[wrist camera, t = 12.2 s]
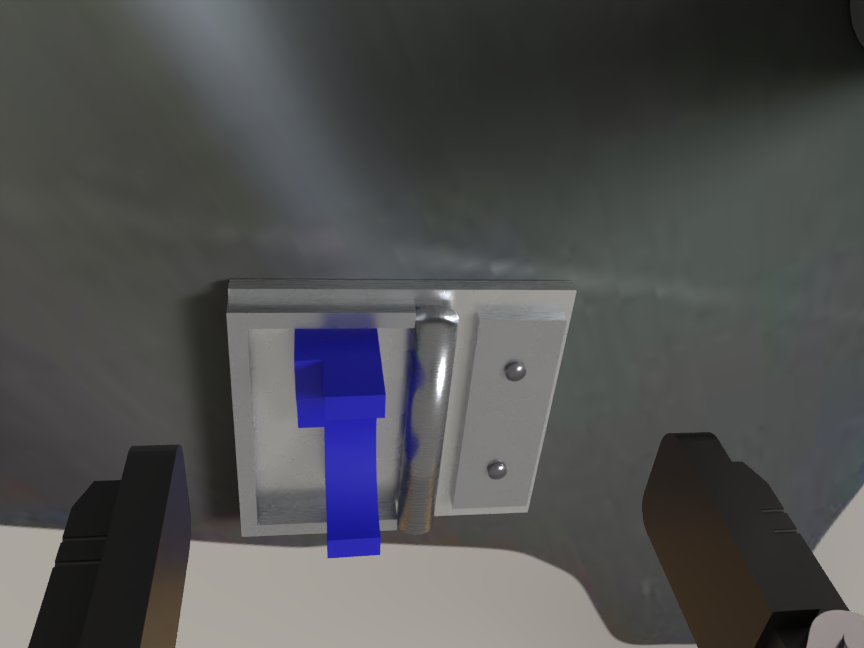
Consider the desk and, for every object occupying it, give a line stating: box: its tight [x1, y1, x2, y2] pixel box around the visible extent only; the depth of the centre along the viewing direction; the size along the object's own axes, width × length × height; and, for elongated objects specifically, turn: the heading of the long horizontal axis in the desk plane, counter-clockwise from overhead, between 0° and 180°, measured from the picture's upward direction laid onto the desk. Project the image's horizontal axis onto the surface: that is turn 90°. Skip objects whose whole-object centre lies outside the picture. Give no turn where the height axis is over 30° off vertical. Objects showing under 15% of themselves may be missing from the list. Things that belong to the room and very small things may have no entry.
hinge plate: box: [226, 279, 577, 537], centre depth 48 cm, size 19×18×3 cm
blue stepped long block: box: [294, 328, 386, 558], centre depth 45 cm, size 12×4×6 cm, turn 177°
